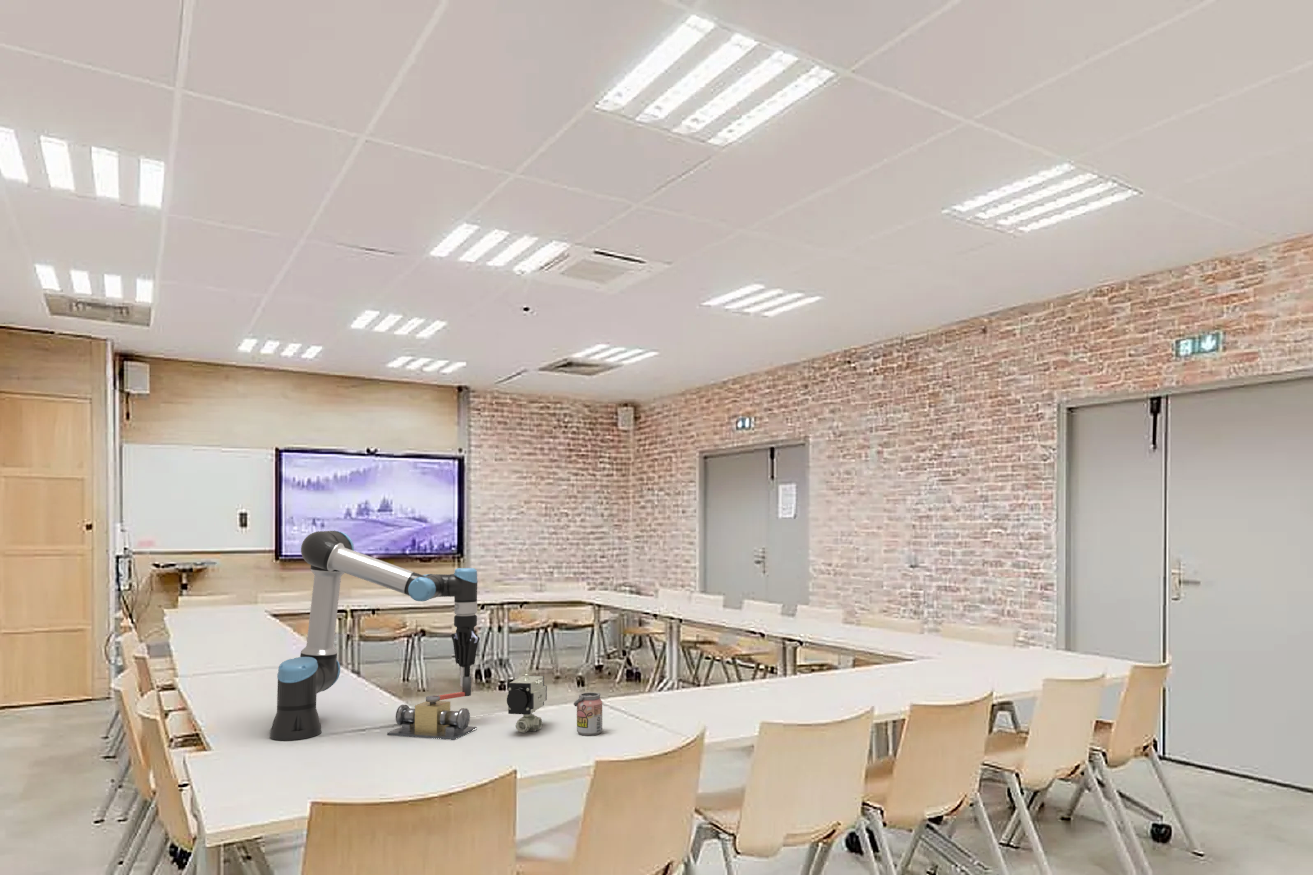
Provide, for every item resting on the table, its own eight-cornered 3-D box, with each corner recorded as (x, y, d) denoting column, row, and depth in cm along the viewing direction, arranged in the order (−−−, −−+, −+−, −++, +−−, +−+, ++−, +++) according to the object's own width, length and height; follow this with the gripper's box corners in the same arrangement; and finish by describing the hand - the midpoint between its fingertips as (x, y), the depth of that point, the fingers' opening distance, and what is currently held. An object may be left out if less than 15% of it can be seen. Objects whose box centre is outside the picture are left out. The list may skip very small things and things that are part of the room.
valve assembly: (387, 735, 270) (387, 704, 271) (412, 725, 283) (412, 695, 284) (454, 740, 263) (454, 708, 264) (476, 729, 276) (476, 699, 277)
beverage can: (568, 733, 270) (568, 694, 272) (588, 728, 277) (588, 690, 278) (588, 737, 264) (588, 698, 265) (608, 732, 270) (607, 693, 271)
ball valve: (531, 738, 265) (531, 679, 266) (505, 736, 266) (505, 678, 268) (549, 724, 282) (549, 669, 284) (525, 723, 284) (525, 669, 286)
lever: (429, 702, 271) (429, 683, 272) (423, 700, 274) (423, 681, 275) (473, 695, 281) (473, 677, 282) (467, 693, 285) (467, 675, 285)
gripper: (444, 614, 288) (444, 685, 286) (467, 617, 279) (466, 690, 277) (463, 612, 293) (462, 682, 291) (486, 614, 285) (485, 686, 283)
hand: (464, 686), depth 284 cm, fingers closed
